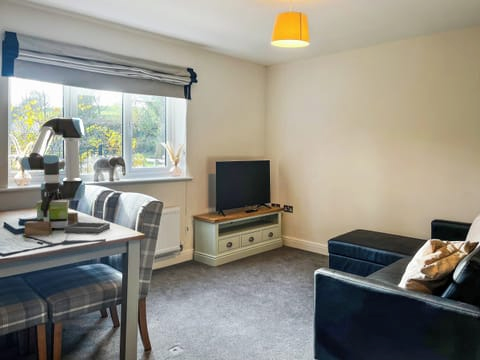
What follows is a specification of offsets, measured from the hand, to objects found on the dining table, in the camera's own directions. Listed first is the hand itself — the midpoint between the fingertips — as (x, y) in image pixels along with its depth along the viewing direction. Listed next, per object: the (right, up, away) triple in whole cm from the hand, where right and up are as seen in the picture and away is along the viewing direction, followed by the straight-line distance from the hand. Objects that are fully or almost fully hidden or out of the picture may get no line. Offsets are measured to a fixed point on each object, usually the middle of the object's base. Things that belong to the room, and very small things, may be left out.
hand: (53, 220), depth 217 cm
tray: (+20, -6, -1) cm, 21 cm away
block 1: (-1, -6, -14) cm, 15 cm away
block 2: (+1, -4, +14) cm, 15 cm away
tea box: (0, -4, 0) cm, 4 cm away
